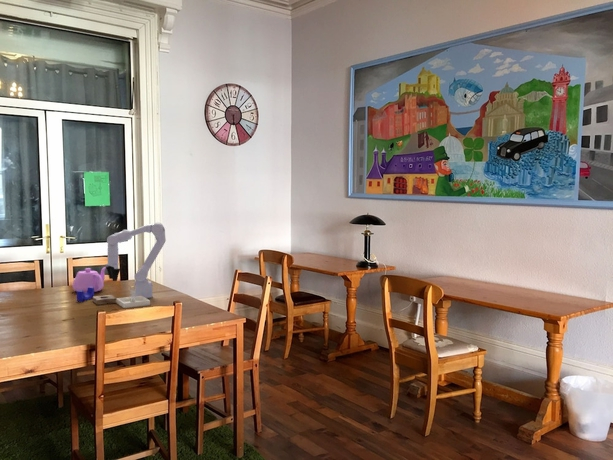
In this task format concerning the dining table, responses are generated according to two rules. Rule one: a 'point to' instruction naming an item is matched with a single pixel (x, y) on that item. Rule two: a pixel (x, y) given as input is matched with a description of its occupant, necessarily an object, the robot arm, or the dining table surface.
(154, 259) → the robot arm
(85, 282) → the teapot
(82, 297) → the cable clip
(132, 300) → the steel pin
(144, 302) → the tray
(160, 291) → the dining table surface
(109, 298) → the square hole board
